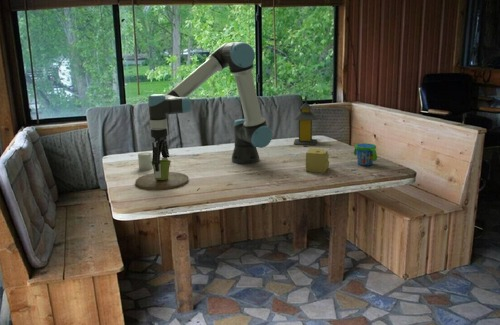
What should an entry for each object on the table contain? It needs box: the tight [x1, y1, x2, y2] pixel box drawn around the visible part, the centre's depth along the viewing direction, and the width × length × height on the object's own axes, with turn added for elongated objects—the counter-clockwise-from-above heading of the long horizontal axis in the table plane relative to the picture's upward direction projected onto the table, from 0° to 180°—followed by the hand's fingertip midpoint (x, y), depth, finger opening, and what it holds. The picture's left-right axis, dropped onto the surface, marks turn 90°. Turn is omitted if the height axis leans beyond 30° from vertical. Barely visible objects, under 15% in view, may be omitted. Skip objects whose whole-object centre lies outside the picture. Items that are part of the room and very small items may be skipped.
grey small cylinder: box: [137, 151, 153, 172], centre depth 247 cm, size 7×7×8 cm
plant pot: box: [151, 159, 172, 180], centre depth 222 cm, size 9×9×9 cm
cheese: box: [305, 147, 330, 174], centre depth 239 cm, size 10×11×10 cm
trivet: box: [135, 171, 190, 191], centre depth 225 cm, size 25×25×2 cm
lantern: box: [293, 94, 318, 146], centre depth 297 cm, size 14×14×30 cm
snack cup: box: [353, 143, 378, 166], centre depth 247 cm, size 16×10×10 cm
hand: (162, 174), depth 224 cm, fingers open, 10 cm apart
